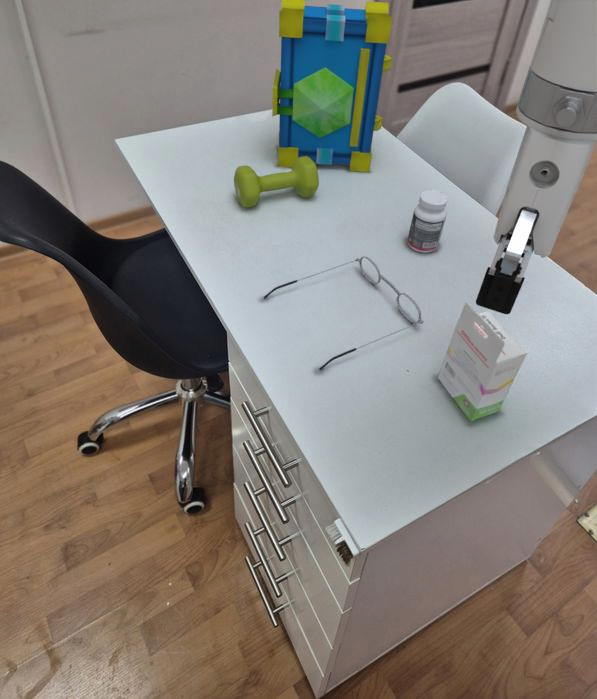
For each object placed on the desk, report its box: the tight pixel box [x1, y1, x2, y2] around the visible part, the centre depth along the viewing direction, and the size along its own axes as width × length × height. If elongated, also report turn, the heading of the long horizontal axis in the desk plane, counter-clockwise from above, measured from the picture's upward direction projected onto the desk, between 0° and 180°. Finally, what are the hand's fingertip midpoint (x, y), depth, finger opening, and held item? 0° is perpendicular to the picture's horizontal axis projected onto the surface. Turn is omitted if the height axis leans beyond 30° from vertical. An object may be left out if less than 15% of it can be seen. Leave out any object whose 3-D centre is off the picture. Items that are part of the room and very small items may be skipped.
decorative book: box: [271, 0, 393, 173], centre depth 112 cm, size 14×23×30 cm, turn 88°
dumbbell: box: [233, 156, 320, 209], centre depth 108 cm, size 16×8×7 cm, turn 112°
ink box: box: [437, 301, 528, 422], centre depth 71 cm, size 9×5×15 cm, turn 22°
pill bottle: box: [407, 189, 448, 254], centre depth 98 cm, size 6×6×10 cm
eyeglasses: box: [263, 255, 424, 371], centre depth 86 cm, size 18×19×4 cm
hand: (503, 279), depth 53 cm, fingers open, 9 cm apart
